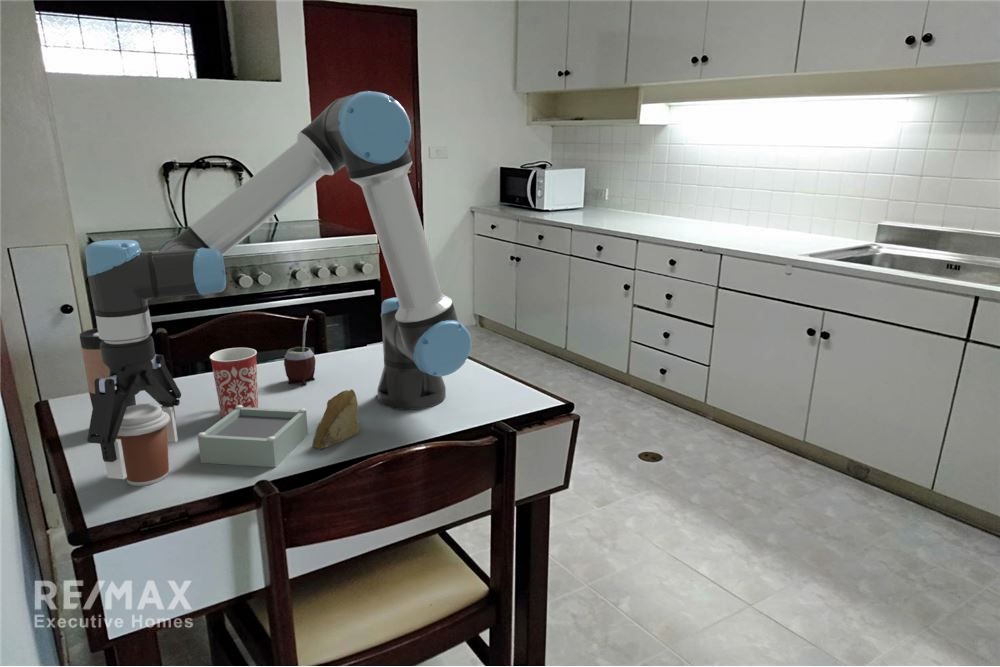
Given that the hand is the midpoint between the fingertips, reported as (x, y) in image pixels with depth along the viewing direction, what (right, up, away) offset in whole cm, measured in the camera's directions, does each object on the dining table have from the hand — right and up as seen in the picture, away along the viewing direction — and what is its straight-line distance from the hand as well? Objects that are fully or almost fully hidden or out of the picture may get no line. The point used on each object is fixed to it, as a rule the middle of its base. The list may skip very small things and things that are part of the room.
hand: (145, 458), depth 111 cm
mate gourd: (+12, +9, +47) cm, 49 cm away
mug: (+5, +4, +29) cm, 29 cm away
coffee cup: (0, -3, +1) cm, 4 cm away
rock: (+28, +1, +16) cm, 32 cm away
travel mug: (-16, +2, +21) cm, 26 cm away
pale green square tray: (+15, 0, +12) cm, 19 cm away
